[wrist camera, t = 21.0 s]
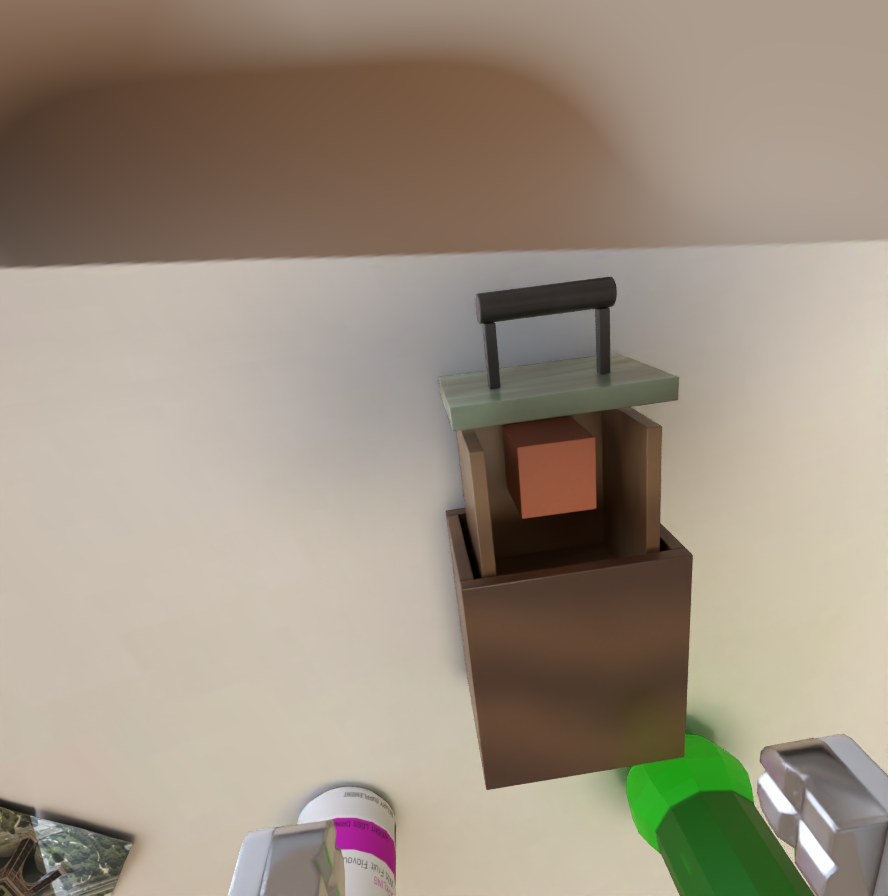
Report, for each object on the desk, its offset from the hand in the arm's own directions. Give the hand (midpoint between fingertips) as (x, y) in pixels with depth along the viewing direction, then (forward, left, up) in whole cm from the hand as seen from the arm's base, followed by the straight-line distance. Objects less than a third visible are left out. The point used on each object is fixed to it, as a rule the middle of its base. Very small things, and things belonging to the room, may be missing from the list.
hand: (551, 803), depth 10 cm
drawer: (+1, +6, -26) cm, 26 cm away
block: (+3, +6, -24) cm, 25 cm away
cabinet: (+14, +6, -26) cm, 30 cm away
